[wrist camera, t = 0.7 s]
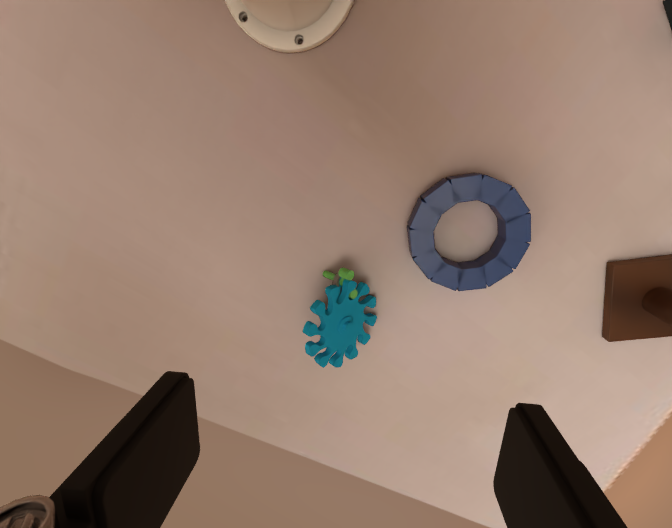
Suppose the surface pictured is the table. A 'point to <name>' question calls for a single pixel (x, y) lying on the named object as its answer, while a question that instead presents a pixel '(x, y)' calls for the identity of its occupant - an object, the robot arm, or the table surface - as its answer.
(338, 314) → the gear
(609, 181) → the table surface
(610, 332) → the stand
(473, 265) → the ring
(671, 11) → the ram head statue
